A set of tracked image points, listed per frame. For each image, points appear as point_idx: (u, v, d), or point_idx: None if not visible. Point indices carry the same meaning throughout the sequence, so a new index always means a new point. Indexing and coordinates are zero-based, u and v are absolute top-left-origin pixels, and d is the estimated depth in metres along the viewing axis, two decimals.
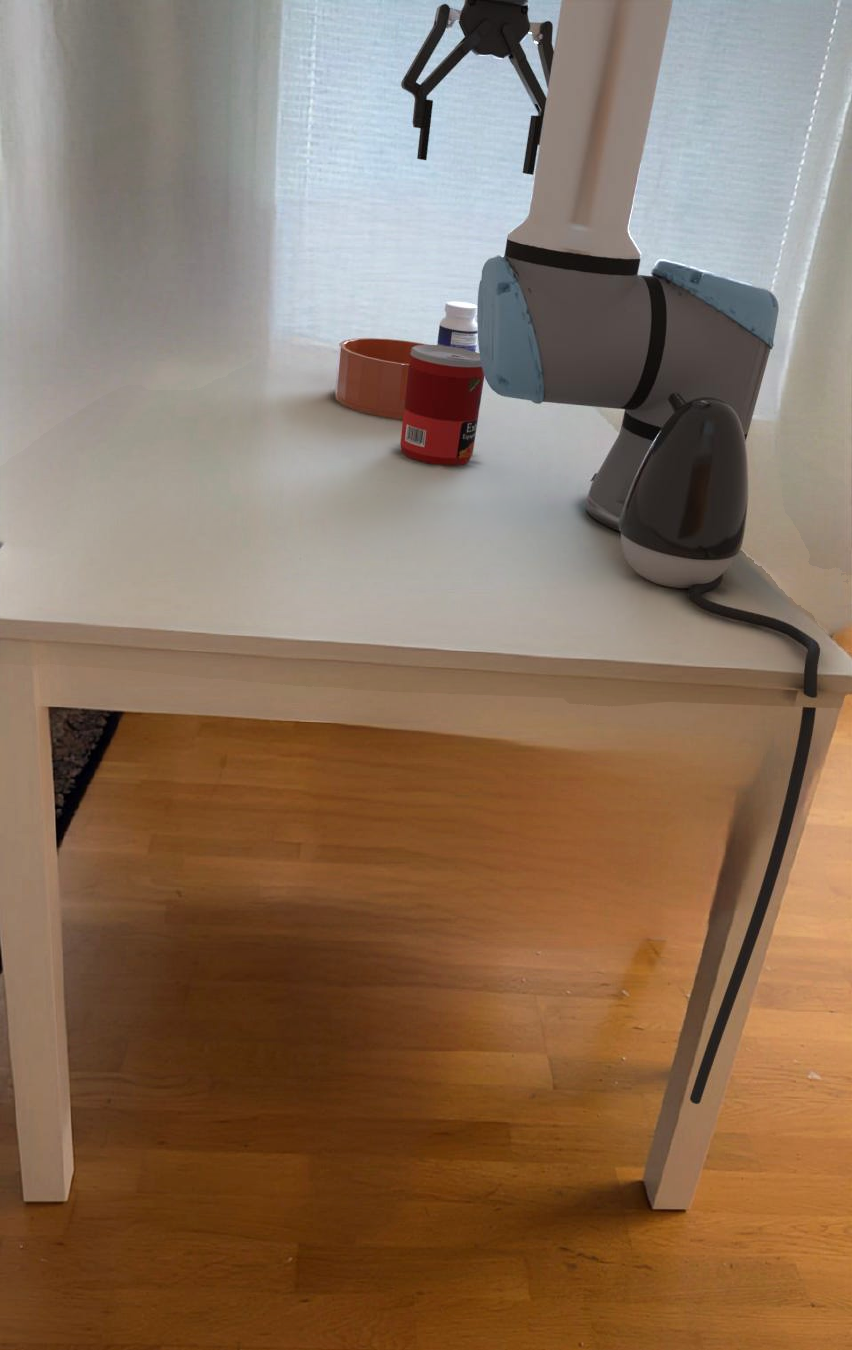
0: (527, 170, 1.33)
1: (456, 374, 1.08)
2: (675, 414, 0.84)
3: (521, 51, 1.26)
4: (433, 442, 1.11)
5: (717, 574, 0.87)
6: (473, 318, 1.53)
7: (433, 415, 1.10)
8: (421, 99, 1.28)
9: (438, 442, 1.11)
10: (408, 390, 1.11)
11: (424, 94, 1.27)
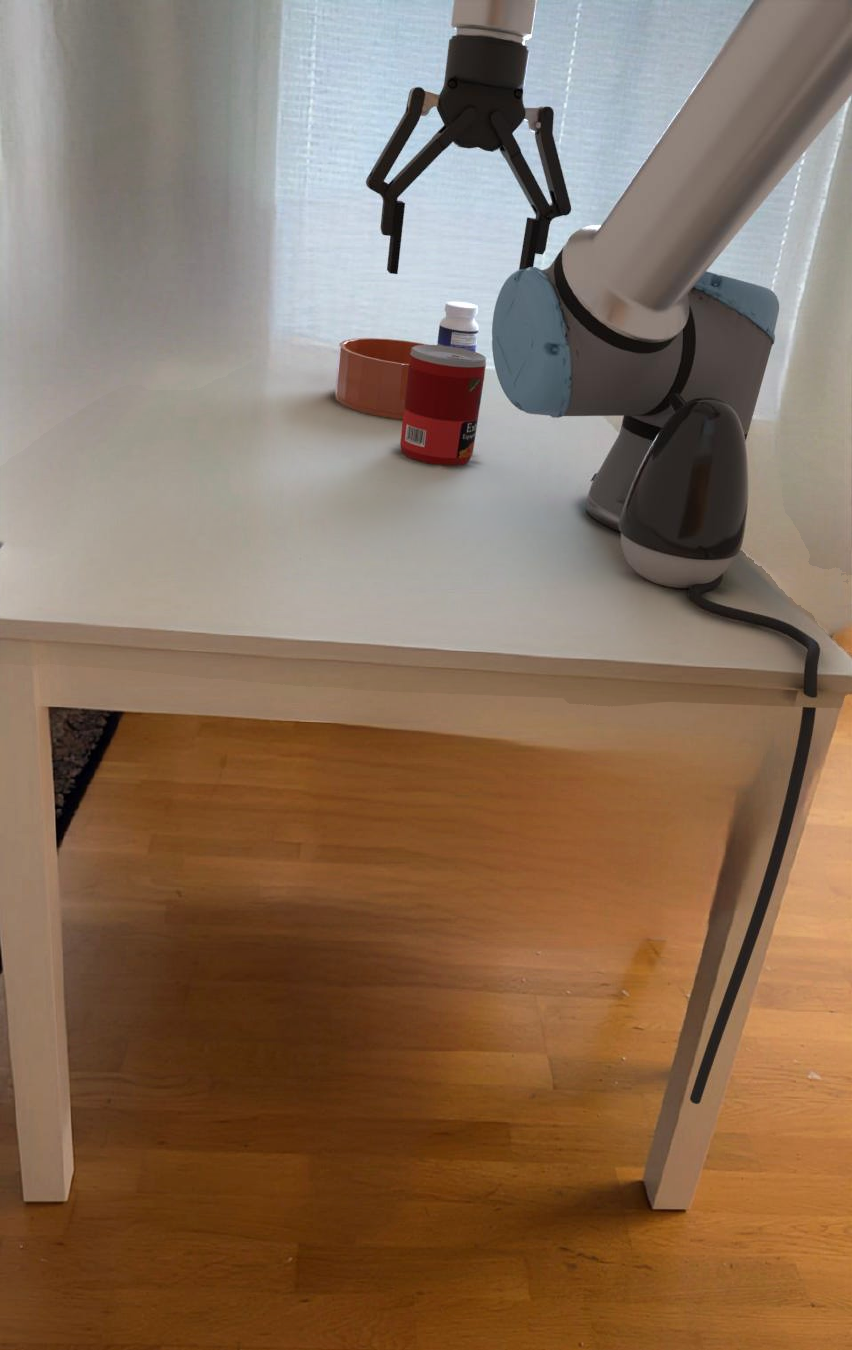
0: None
1: (456, 374, 1.08)
2: (675, 414, 0.84)
3: (514, 143, 1.01)
4: (433, 442, 1.11)
5: (717, 574, 0.87)
6: (473, 318, 1.53)
7: (433, 415, 1.10)
8: (390, 201, 1.03)
9: (438, 442, 1.11)
10: (408, 390, 1.11)
11: (394, 196, 1.02)
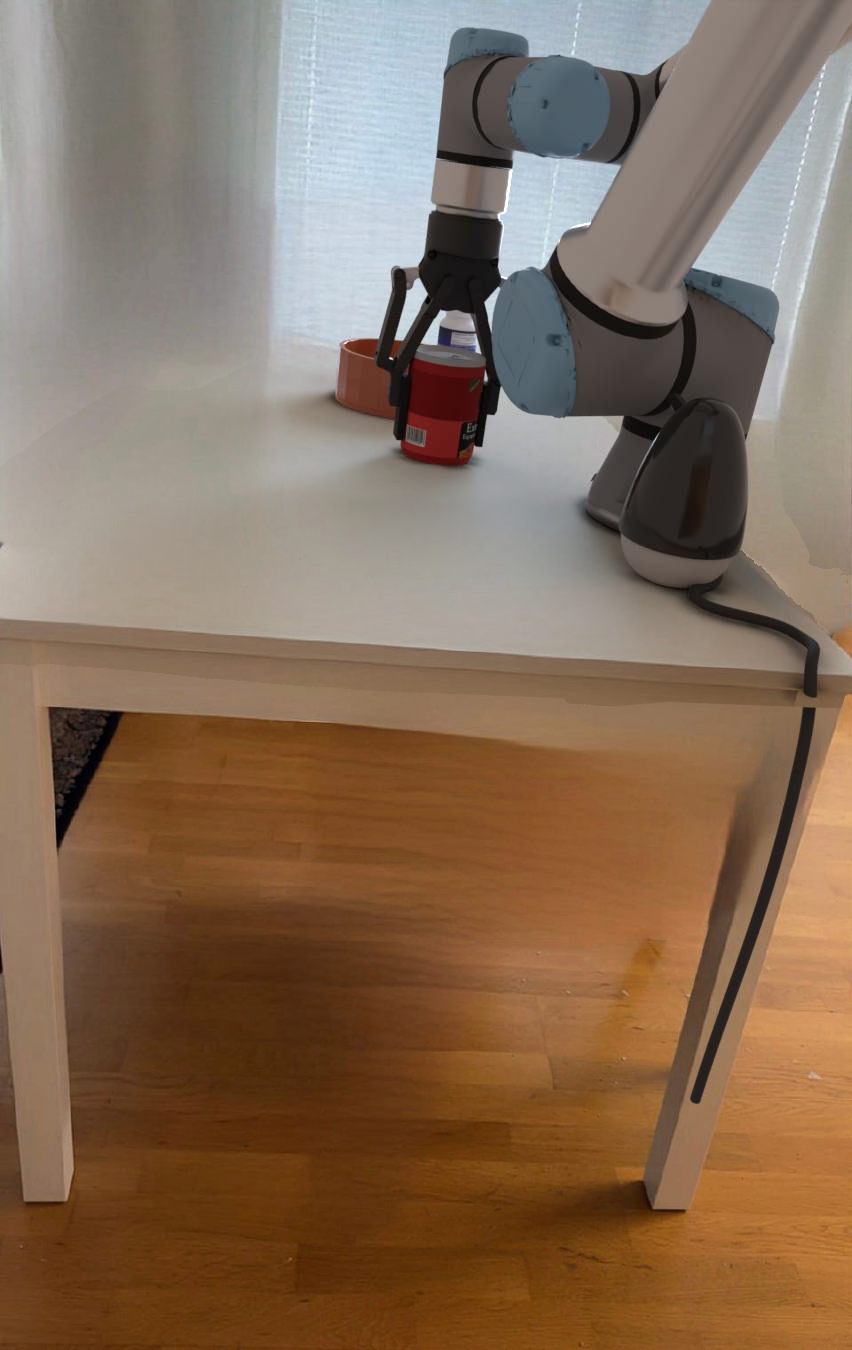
0: (475, 442, 1.15)
1: (456, 374, 1.08)
2: (675, 414, 0.84)
3: (484, 311, 1.08)
4: (433, 442, 1.11)
5: (717, 574, 0.87)
6: None
7: (433, 415, 1.10)
8: (399, 376, 1.11)
9: (438, 442, 1.11)
10: None
11: (400, 372, 1.10)
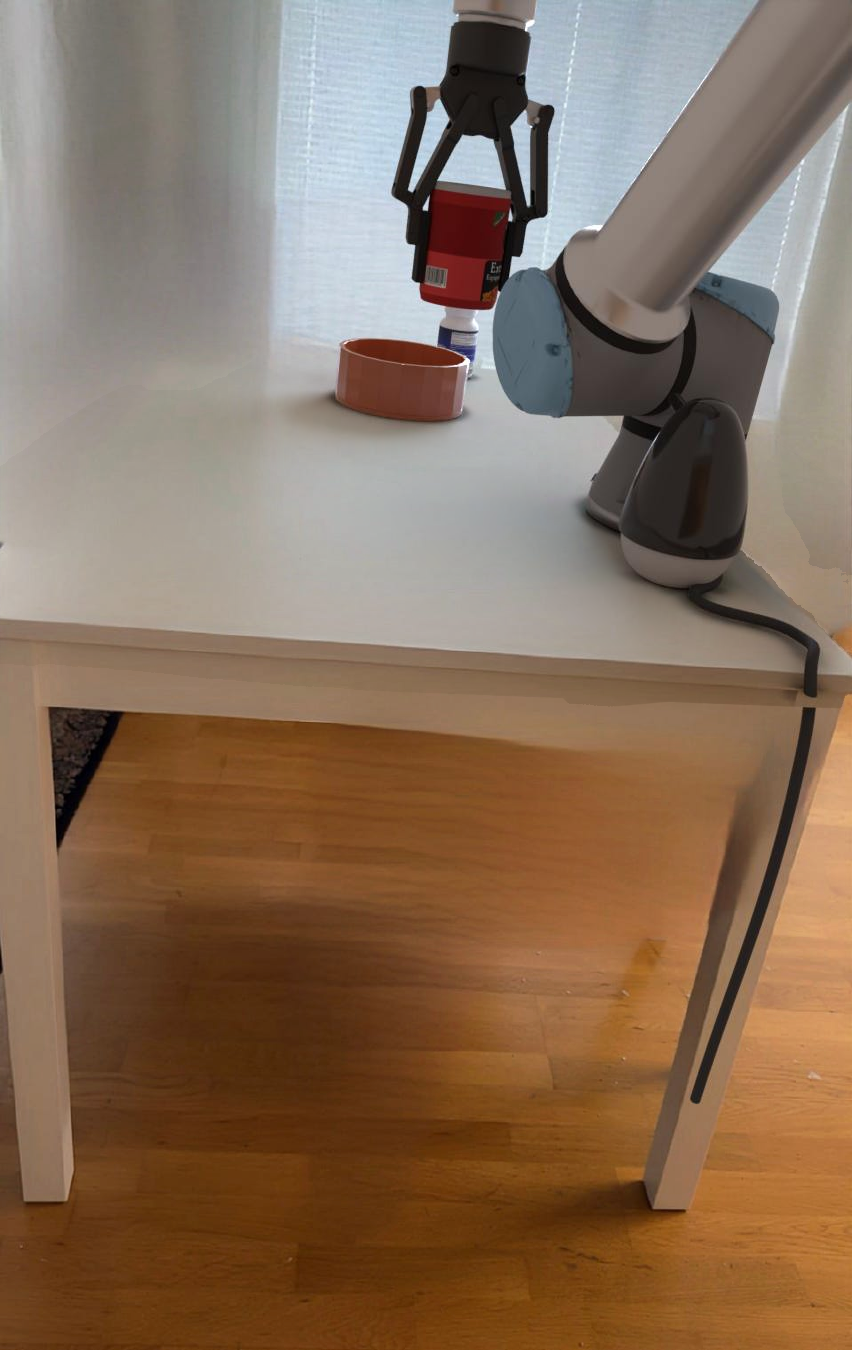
0: (499, 287, 1.07)
1: (480, 204, 1.01)
2: (675, 414, 0.84)
3: (510, 136, 1.01)
4: (455, 283, 1.04)
5: (717, 574, 0.87)
6: (473, 318, 1.53)
7: (455, 251, 1.03)
8: (418, 210, 1.03)
9: (460, 282, 1.04)
10: None
11: (420, 204, 1.03)
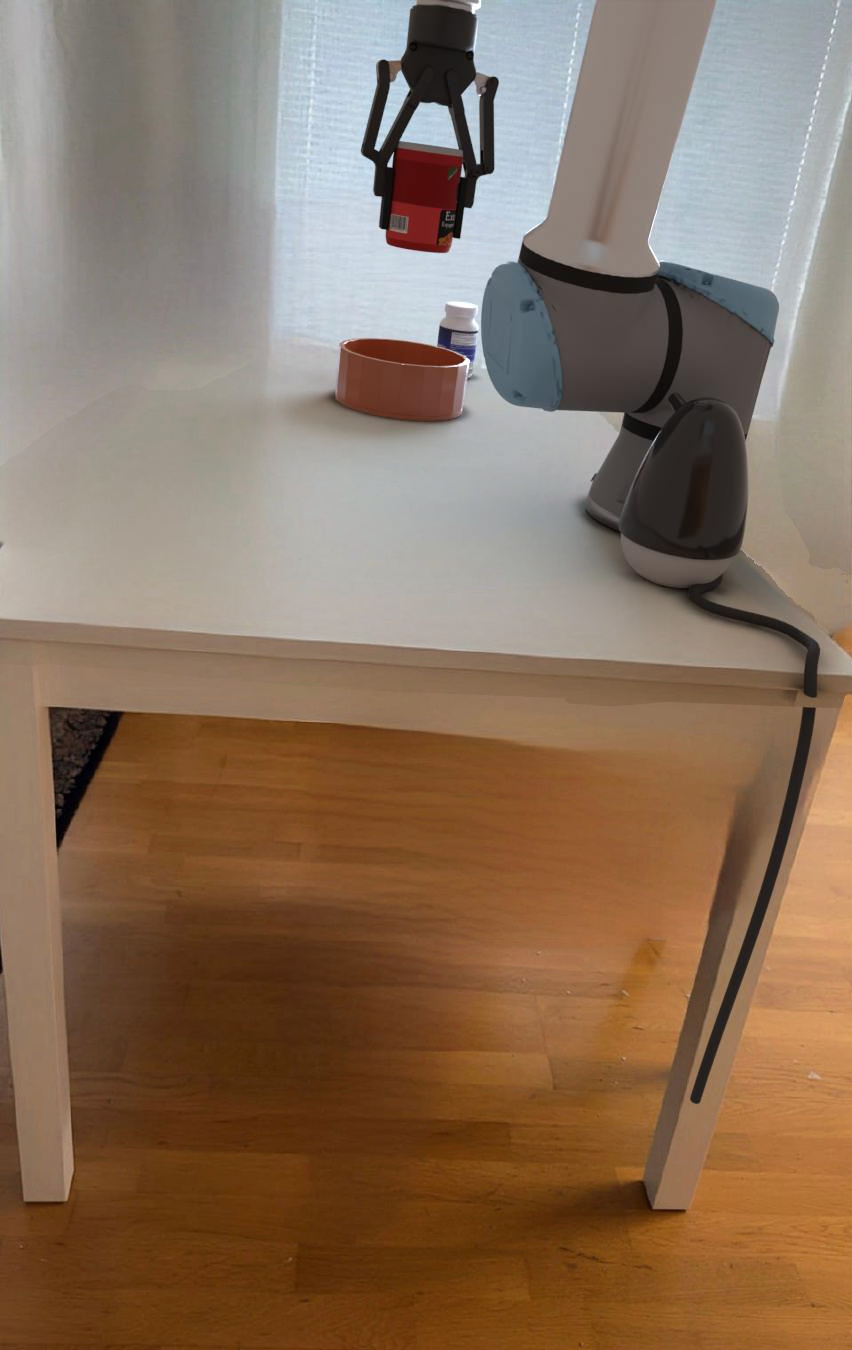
0: (454, 234, 1.26)
1: (435, 160, 1.19)
2: (675, 414, 0.84)
3: (461, 103, 1.19)
4: (415, 228, 1.22)
5: (717, 574, 0.87)
6: (473, 318, 1.53)
7: (415, 201, 1.21)
8: (383, 167, 1.21)
9: (419, 228, 1.22)
10: None
11: (385, 161, 1.21)
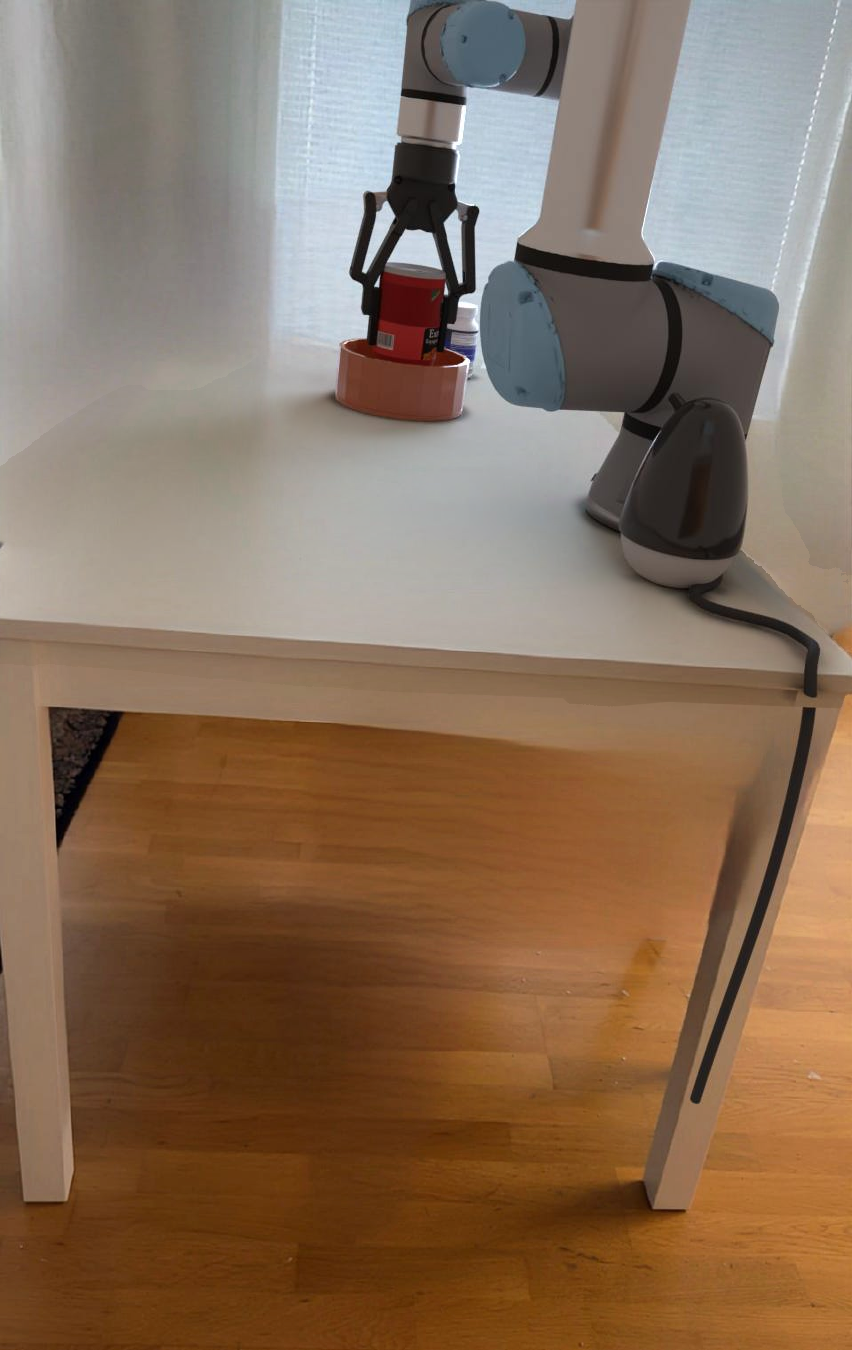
0: (437, 348, 1.32)
1: (419, 284, 1.26)
2: (675, 414, 0.84)
3: (443, 230, 1.25)
4: (400, 346, 1.29)
5: (717, 574, 0.87)
6: (473, 318, 1.53)
7: (400, 321, 1.28)
8: (370, 288, 1.28)
9: (404, 345, 1.29)
10: (379, 300, 1.29)
11: (372, 284, 1.27)
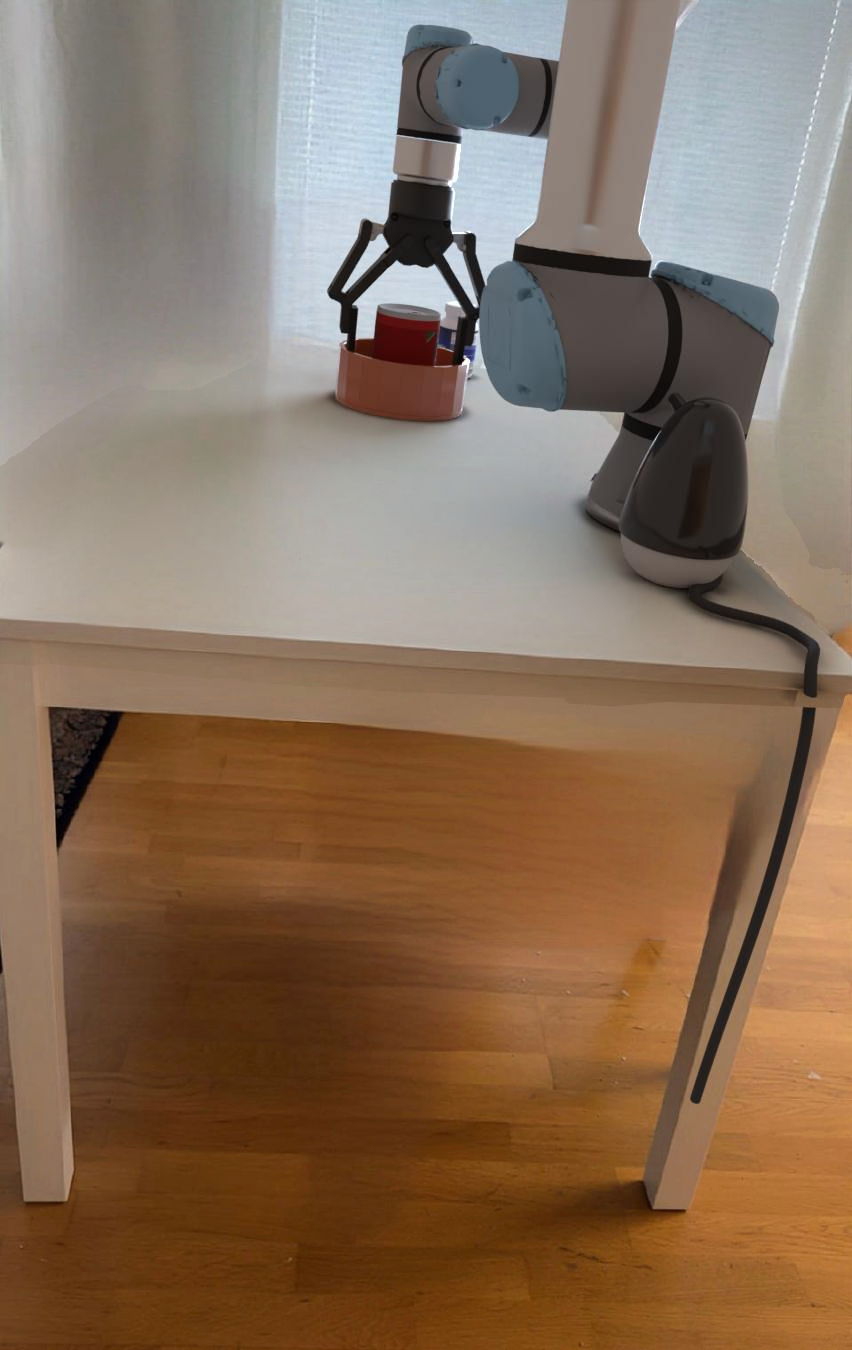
0: None
1: (414, 326, 1.28)
2: (675, 414, 0.84)
3: (445, 262, 1.27)
4: None
5: (717, 574, 0.87)
6: None
7: None
8: (346, 307, 1.29)
9: None
10: (375, 341, 1.31)
11: (349, 303, 1.28)
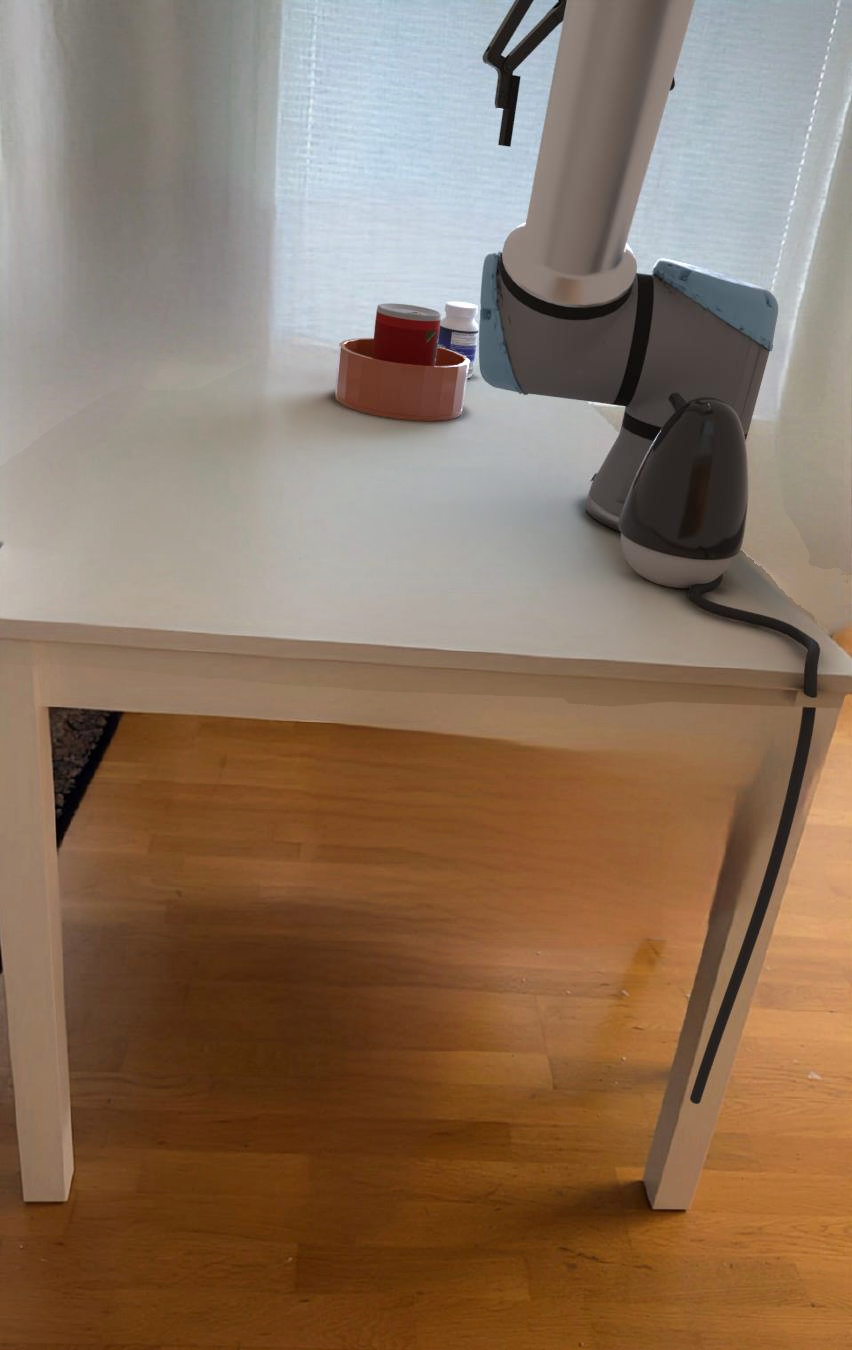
0: None
1: (414, 326, 1.28)
2: (675, 414, 0.84)
3: None
4: None
5: (717, 574, 0.87)
6: (473, 318, 1.53)
7: None
8: (506, 75, 1.09)
9: None
10: (375, 341, 1.31)
11: (510, 69, 1.08)
